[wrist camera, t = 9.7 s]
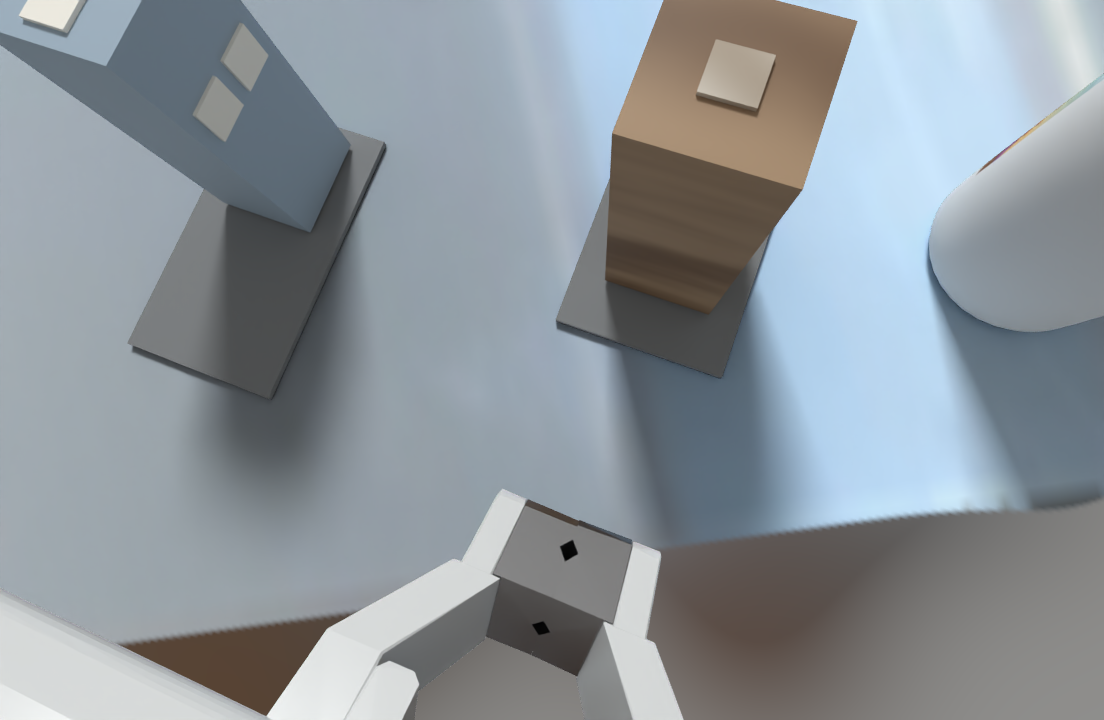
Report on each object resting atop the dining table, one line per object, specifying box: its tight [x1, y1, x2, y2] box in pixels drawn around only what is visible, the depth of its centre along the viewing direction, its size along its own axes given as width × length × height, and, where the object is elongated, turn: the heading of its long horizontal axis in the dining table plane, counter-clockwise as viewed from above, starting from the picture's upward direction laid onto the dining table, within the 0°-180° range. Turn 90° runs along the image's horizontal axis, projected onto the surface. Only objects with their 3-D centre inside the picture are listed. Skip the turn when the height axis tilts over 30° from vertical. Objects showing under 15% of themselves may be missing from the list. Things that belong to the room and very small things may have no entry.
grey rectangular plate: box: [556, 179, 769, 378], centre depth 27 cm, size 14×8×1 cm, turn 159°
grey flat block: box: [128, 128, 386, 399], centre depth 29 cm, size 14×8×1 cm, turn 159°
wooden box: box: [605, 0, 857, 315], centre depth 21 cm, size 5×5×12 cm
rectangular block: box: [0, 0, 351, 232], centre depth 23 cm, size 5×5×12 cm
